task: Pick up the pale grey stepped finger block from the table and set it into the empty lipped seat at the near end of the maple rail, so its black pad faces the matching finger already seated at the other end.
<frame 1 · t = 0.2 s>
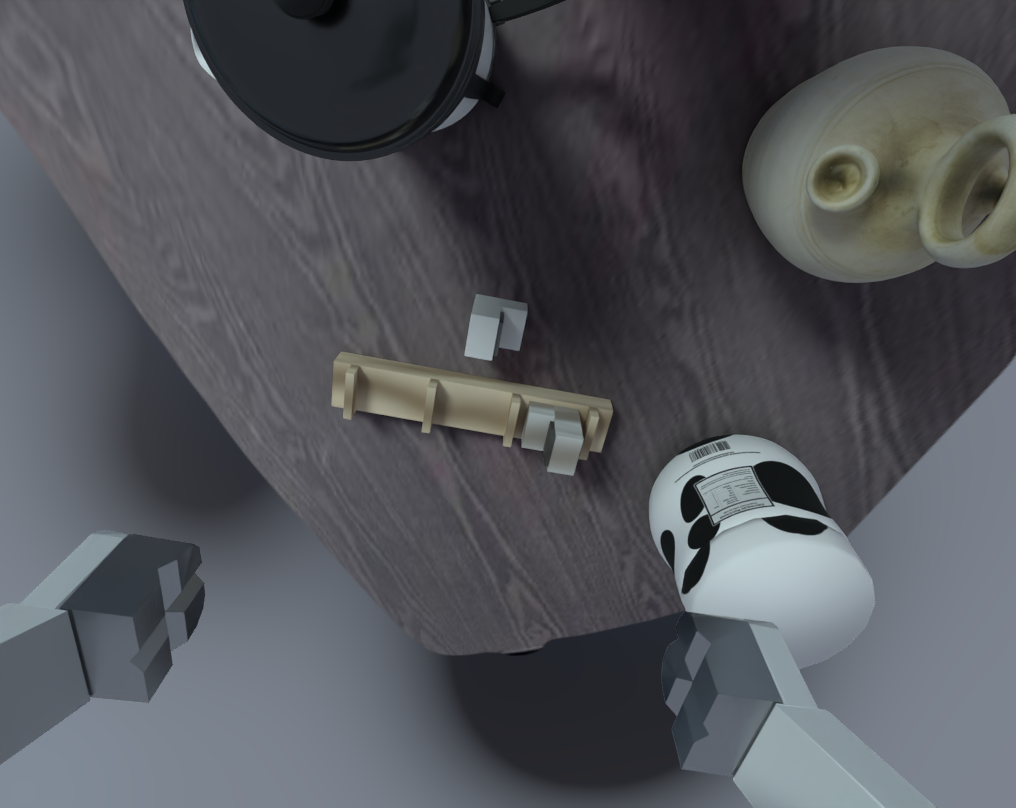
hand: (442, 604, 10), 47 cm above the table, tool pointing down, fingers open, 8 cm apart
milk container: (719, 488, 66), on the table
rail: (473, 397, 61), on the table
jug: (812, 160, 50), on the table
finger: (498, 318, 57), on the table
coffee press: (435, 38, 47), on the table
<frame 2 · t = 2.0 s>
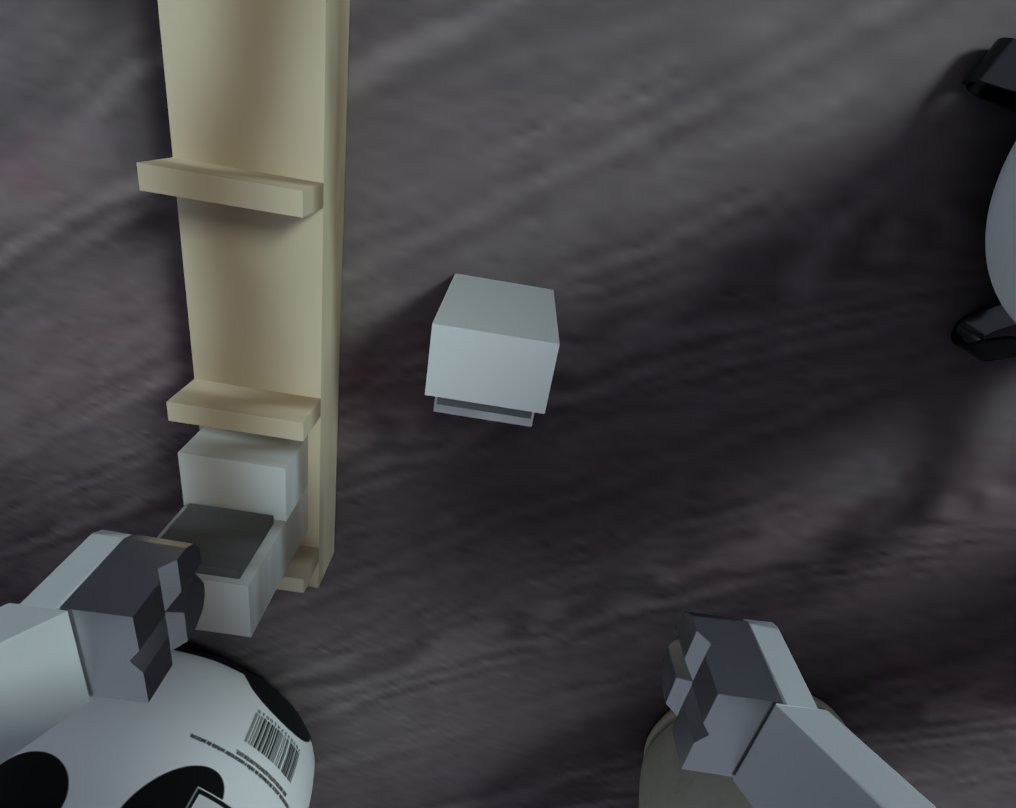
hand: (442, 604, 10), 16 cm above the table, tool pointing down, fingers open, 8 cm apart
milk container: (195, 710, 37), on the table
rail: (280, 281, 24), on the table
jug: (739, 743, 36), on the table
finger: (495, 339, 25), on the table
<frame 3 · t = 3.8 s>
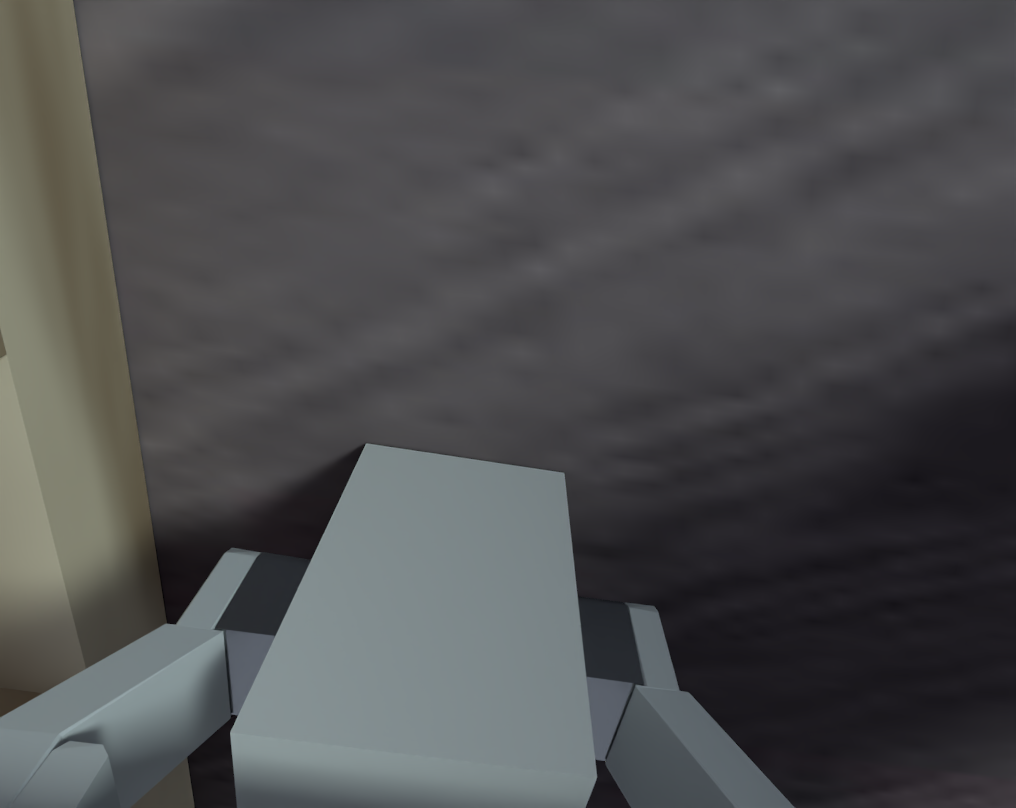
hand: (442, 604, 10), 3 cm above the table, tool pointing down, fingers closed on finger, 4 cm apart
rail: (19, 455, 12), on the table
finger: (451, 553, 13), on the table, touching gripper
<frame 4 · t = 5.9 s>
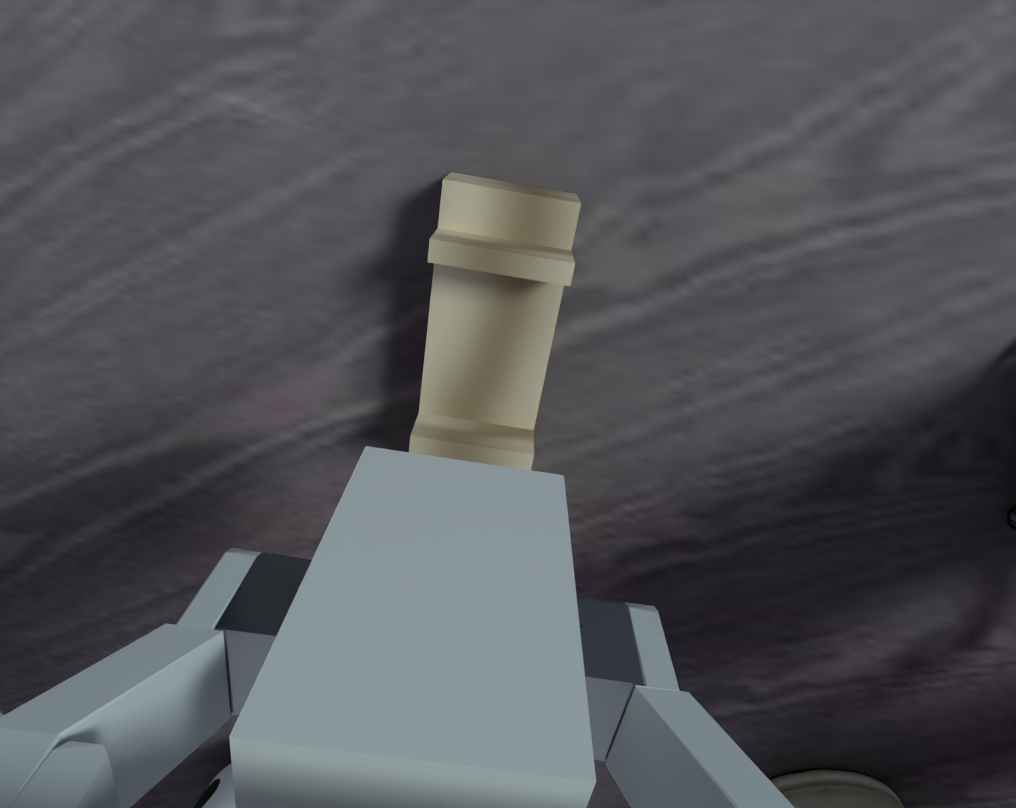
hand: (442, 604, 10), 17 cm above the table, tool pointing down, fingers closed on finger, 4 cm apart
milk container: (335, 787, 43), on the table
rail: (468, 474, 29), on the table
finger: (451, 555, 13), point 15 cm above the table, touching gripper
when the fingers open (7 cm above the table, at t = 8.1 s): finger drops 1 cm, resting on rail.
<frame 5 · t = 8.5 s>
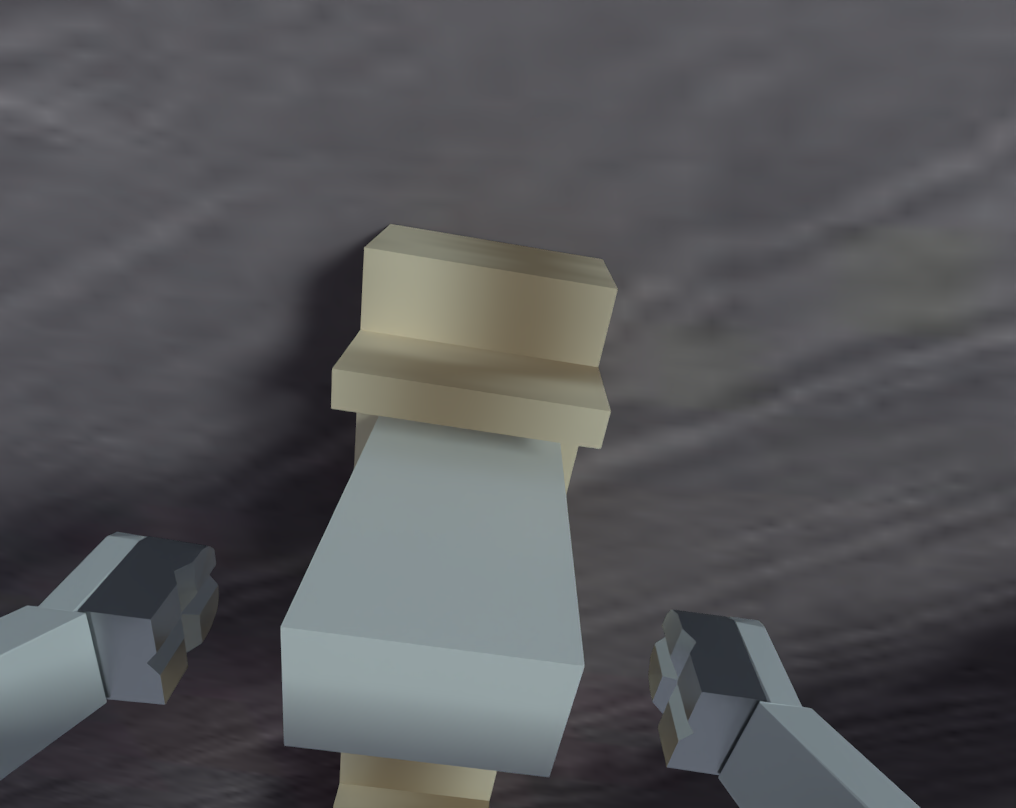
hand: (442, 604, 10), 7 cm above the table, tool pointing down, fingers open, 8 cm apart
rail: (436, 653, 20), on the table
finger: (458, 513, 14), point 2 cm above the table, touching rail
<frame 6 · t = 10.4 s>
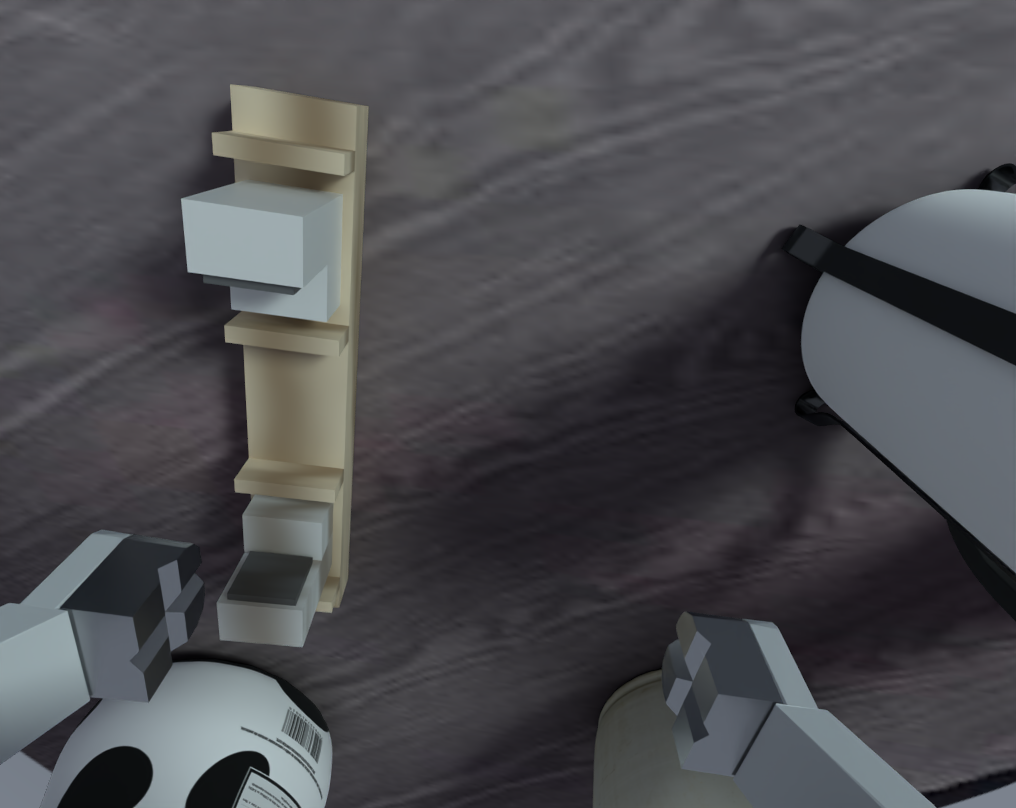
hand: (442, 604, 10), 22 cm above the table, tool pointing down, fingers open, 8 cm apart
milk container: (229, 713, 44), on the table
rail: (310, 382, 32), on the table
jug: (673, 714, 46), on the table
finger: (296, 245, 26), point 2 cm above the table, touching rail
coffee press: (898, 321, 31), on the table
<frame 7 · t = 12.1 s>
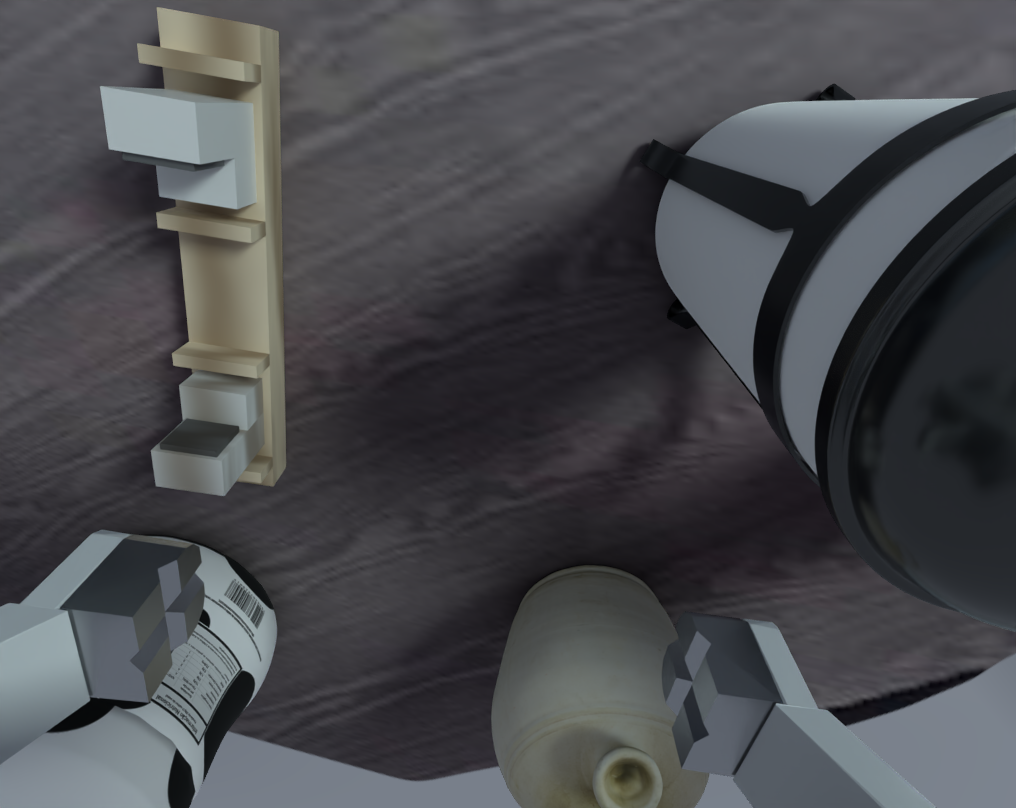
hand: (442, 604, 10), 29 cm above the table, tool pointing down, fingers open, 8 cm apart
milk container: (190, 594, 50), on the table
rail: (243, 279, 37), on the table
jug: (587, 615, 50), on the table
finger: (217, 148, 31), point 2 cm above the table, touching rail
coffee press: (755, 233, 35), on the table
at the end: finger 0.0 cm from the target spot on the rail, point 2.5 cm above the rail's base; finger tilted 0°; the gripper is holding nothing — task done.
